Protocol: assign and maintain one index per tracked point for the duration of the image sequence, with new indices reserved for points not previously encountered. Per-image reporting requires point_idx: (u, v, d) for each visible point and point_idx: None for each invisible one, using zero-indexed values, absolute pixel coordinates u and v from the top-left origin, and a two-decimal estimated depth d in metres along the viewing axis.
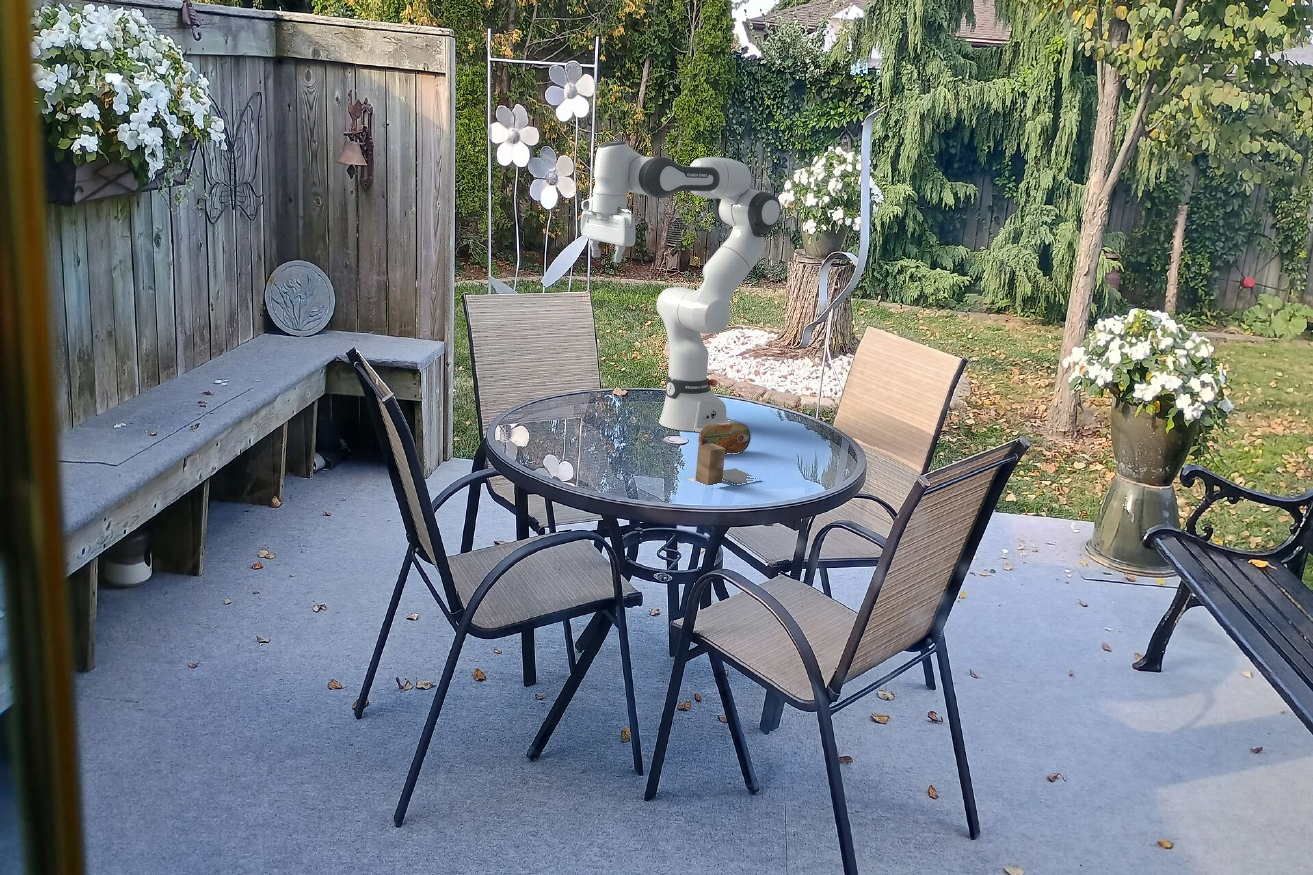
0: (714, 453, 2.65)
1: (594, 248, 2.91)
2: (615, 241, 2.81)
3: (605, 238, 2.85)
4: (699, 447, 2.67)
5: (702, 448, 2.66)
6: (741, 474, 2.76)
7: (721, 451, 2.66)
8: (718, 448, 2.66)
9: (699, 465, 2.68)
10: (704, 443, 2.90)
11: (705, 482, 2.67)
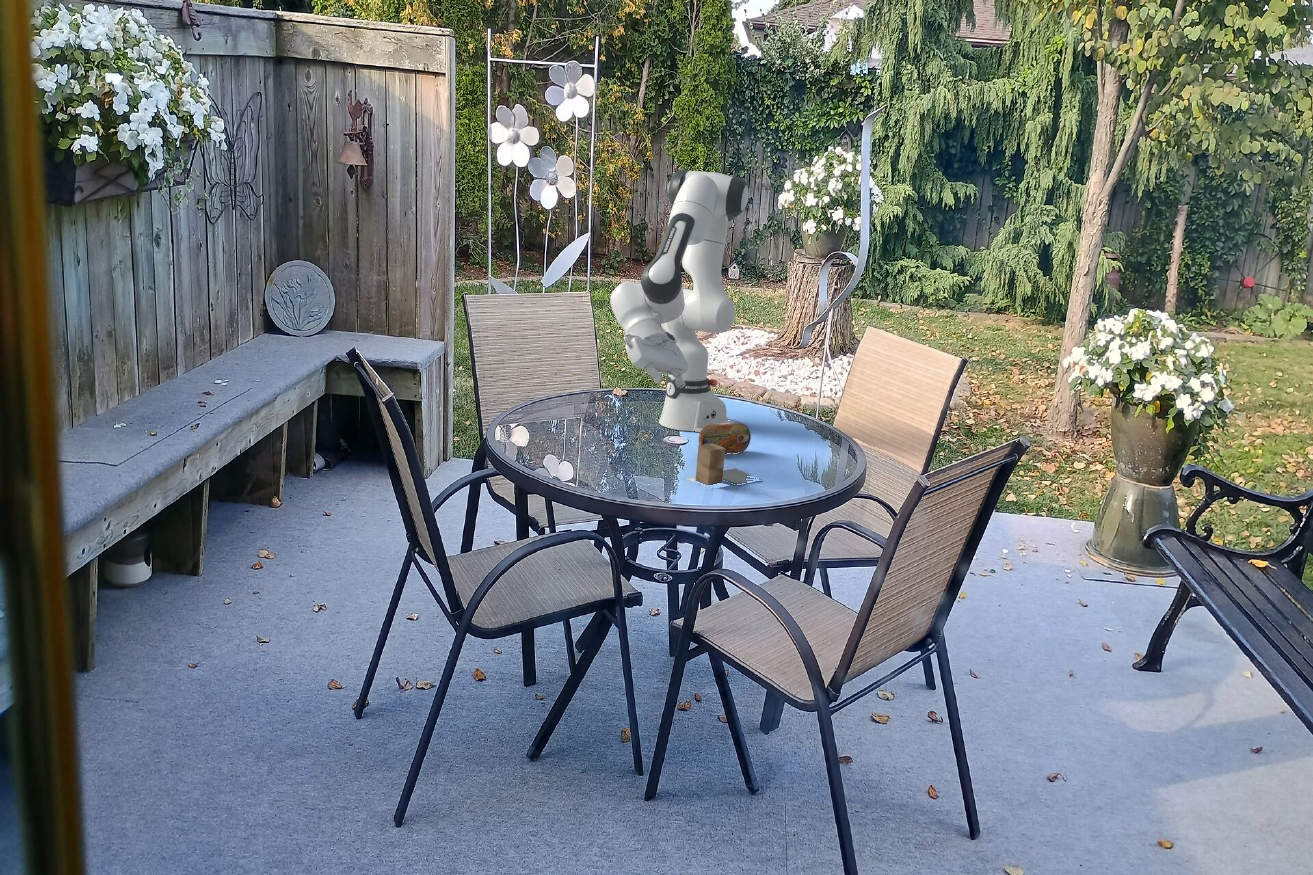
0: (714, 453, 2.65)
1: (677, 380, 2.75)
2: None
3: None
4: (699, 447, 2.67)
5: (702, 448, 2.66)
6: (741, 474, 2.76)
7: (721, 451, 2.66)
8: (718, 448, 2.66)
9: (699, 465, 2.68)
10: (704, 443, 2.90)
11: (705, 482, 2.67)
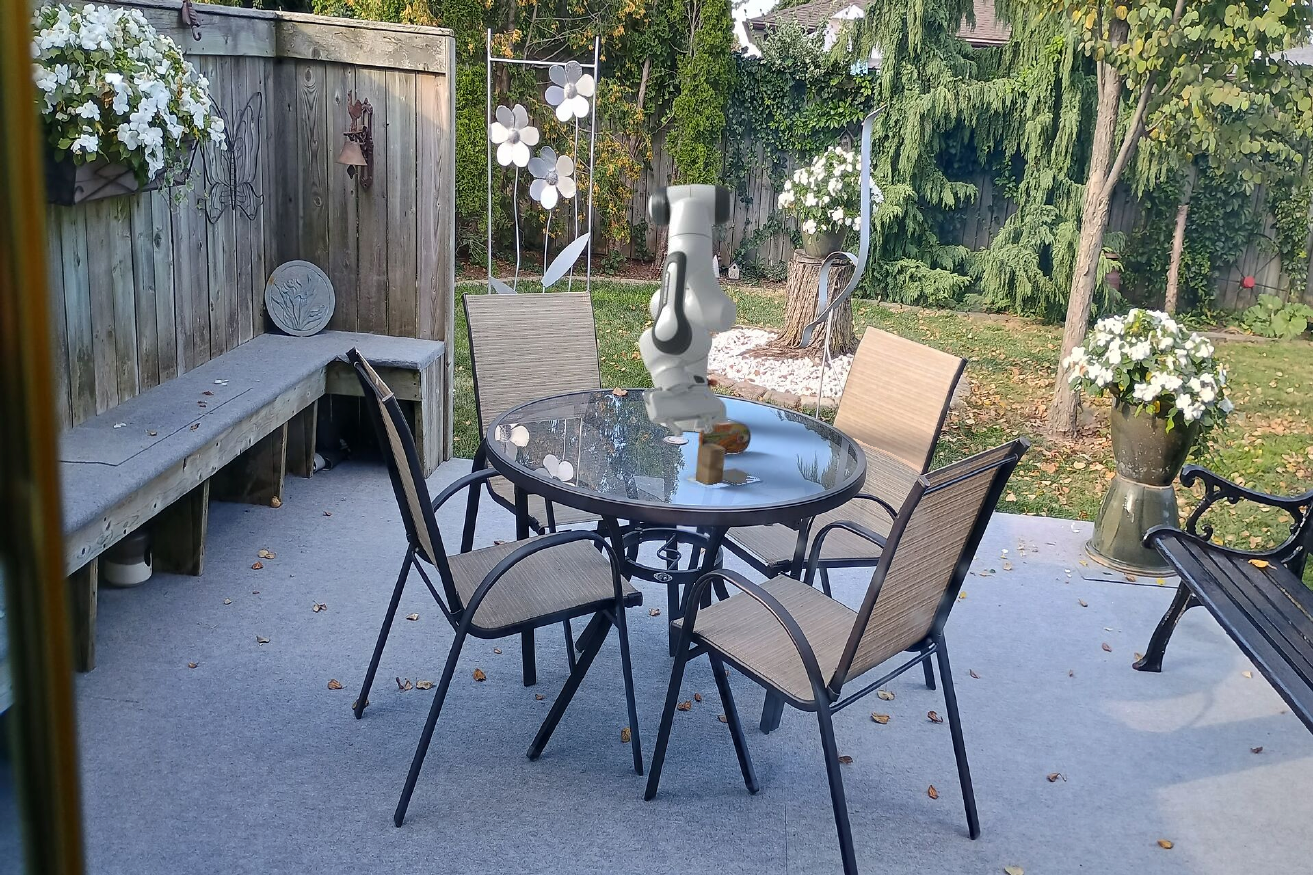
0: (714, 453, 2.65)
1: (706, 425, 2.75)
2: None
3: None
4: (699, 447, 2.67)
5: (702, 448, 2.66)
6: (741, 474, 2.76)
7: (721, 451, 2.66)
8: (718, 448, 2.66)
9: (699, 465, 2.68)
10: (704, 443, 2.90)
11: (705, 482, 2.67)
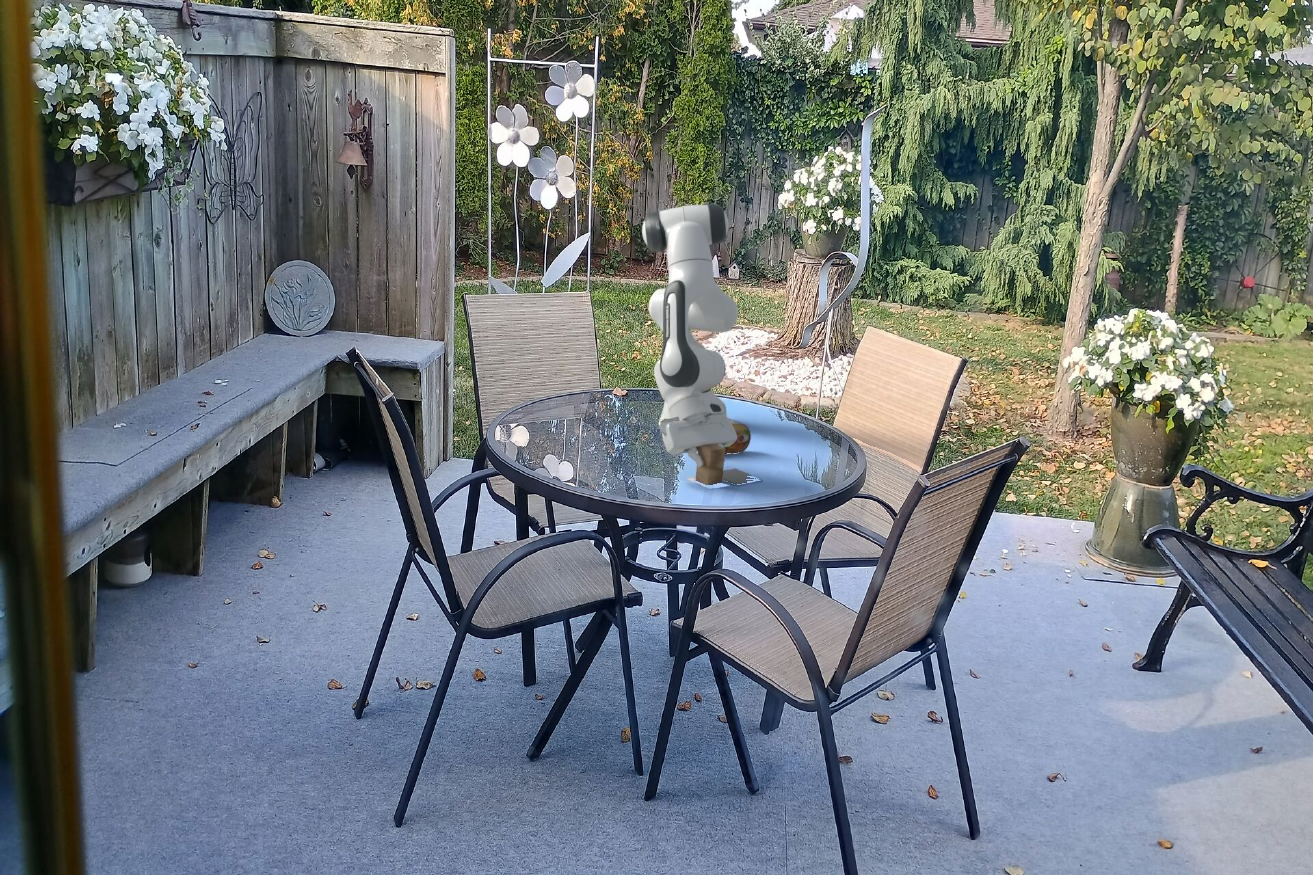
0: (714, 453, 2.65)
1: None
2: None
3: None
4: (699, 447, 2.67)
5: (702, 448, 2.66)
6: (741, 474, 2.76)
7: (721, 451, 2.66)
8: (718, 448, 2.66)
9: None
10: None
11: (705, 482, 2.67)
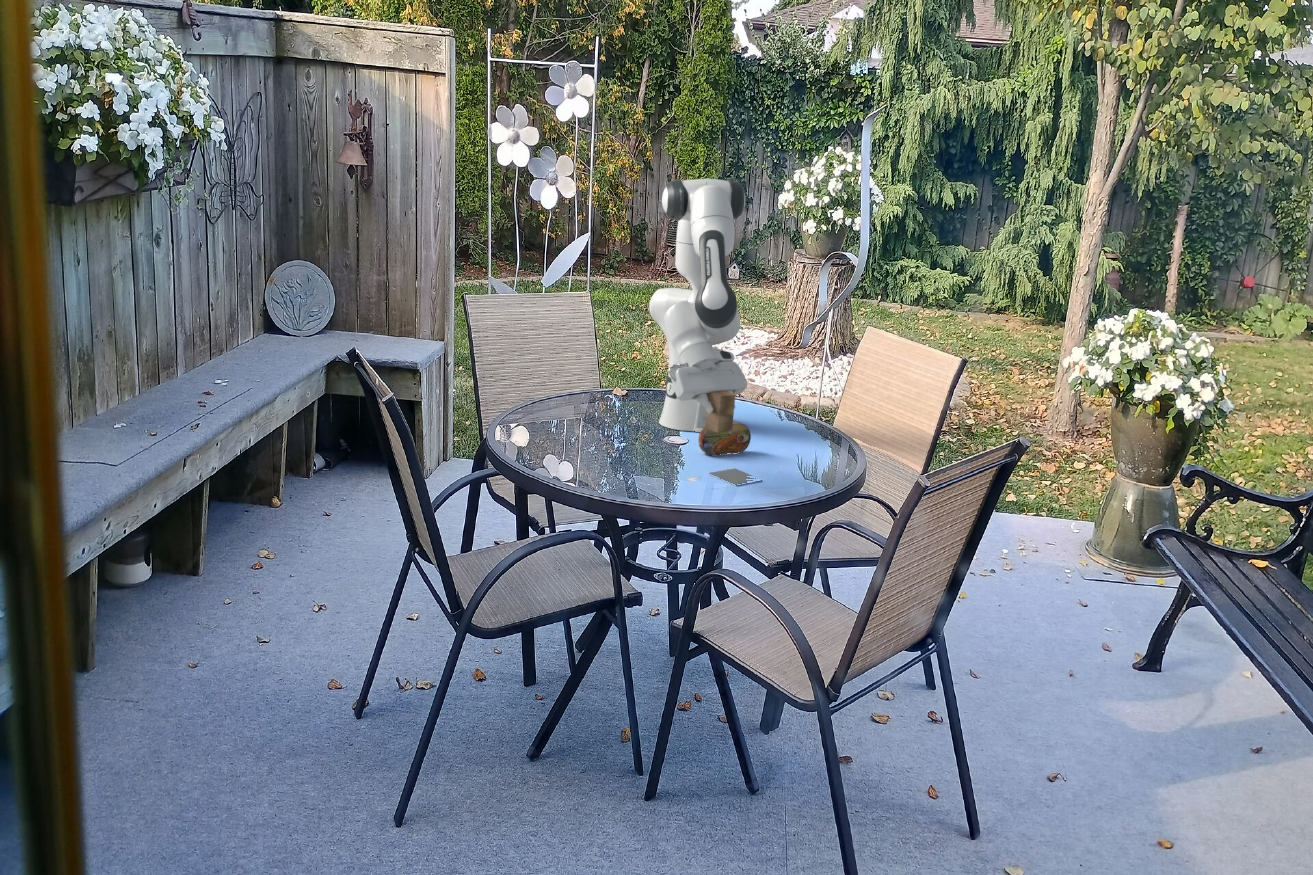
0: (724, 398, 2.62)
1: None
2: None
3: None
4: (709, 393, 2.65)
5: (712, 394, 2.64)
6: (741, 474, 2.76)
7: (731, 397, 2.64)
8: (728, 394, 2.64)
9: None
10: (704, 443, 2.90)
11: (715, 428, 2.64)
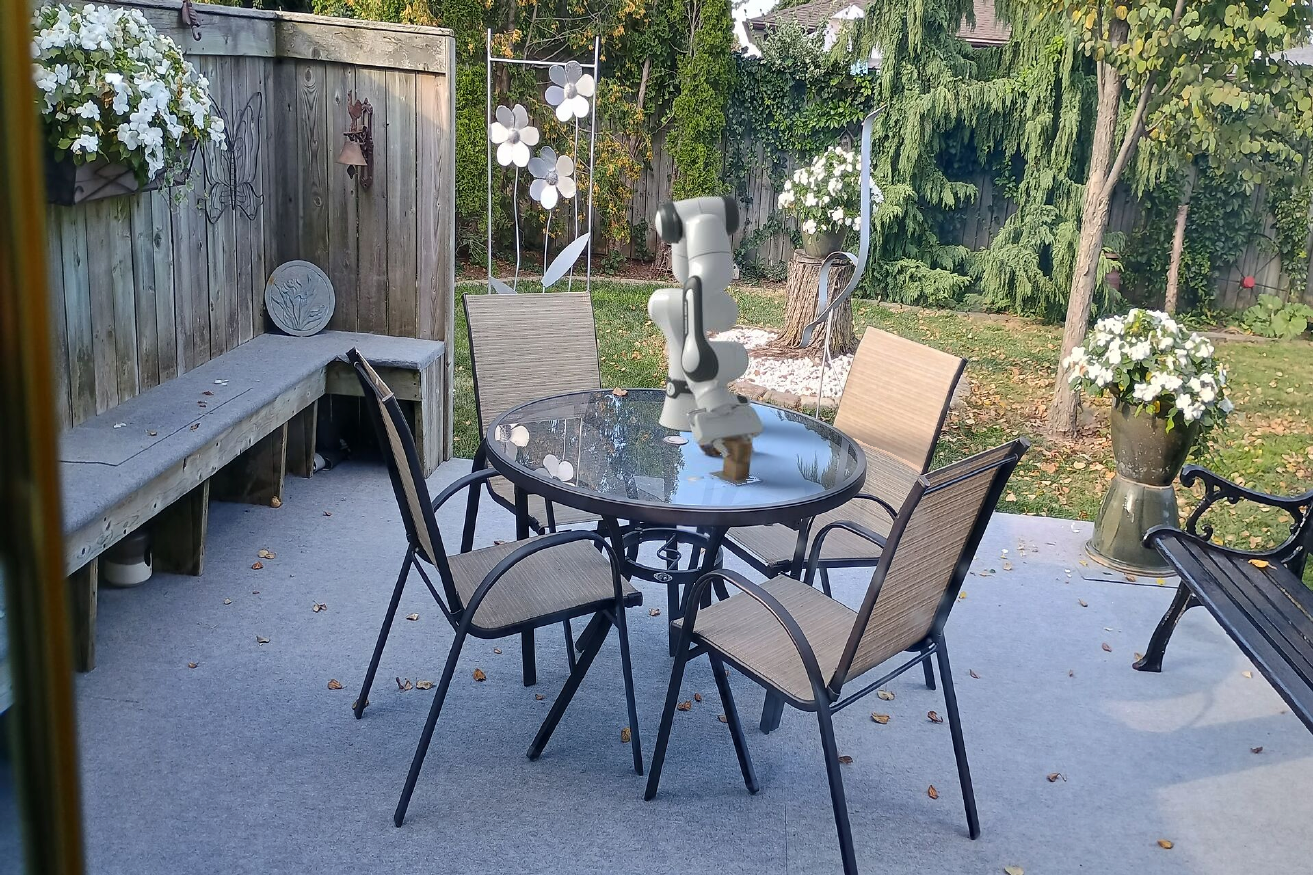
0: (741, 447, 2.70)
1: None
2: None
3: None
4: (726, 441, 2.72)
5: (729, 442, 2.71)
6: None
7: (748, 445, 2.71)
8: (745, 442, 2.71)
9: (726, 459, 2.73)
10: None
11: (732, 476, 2.72)
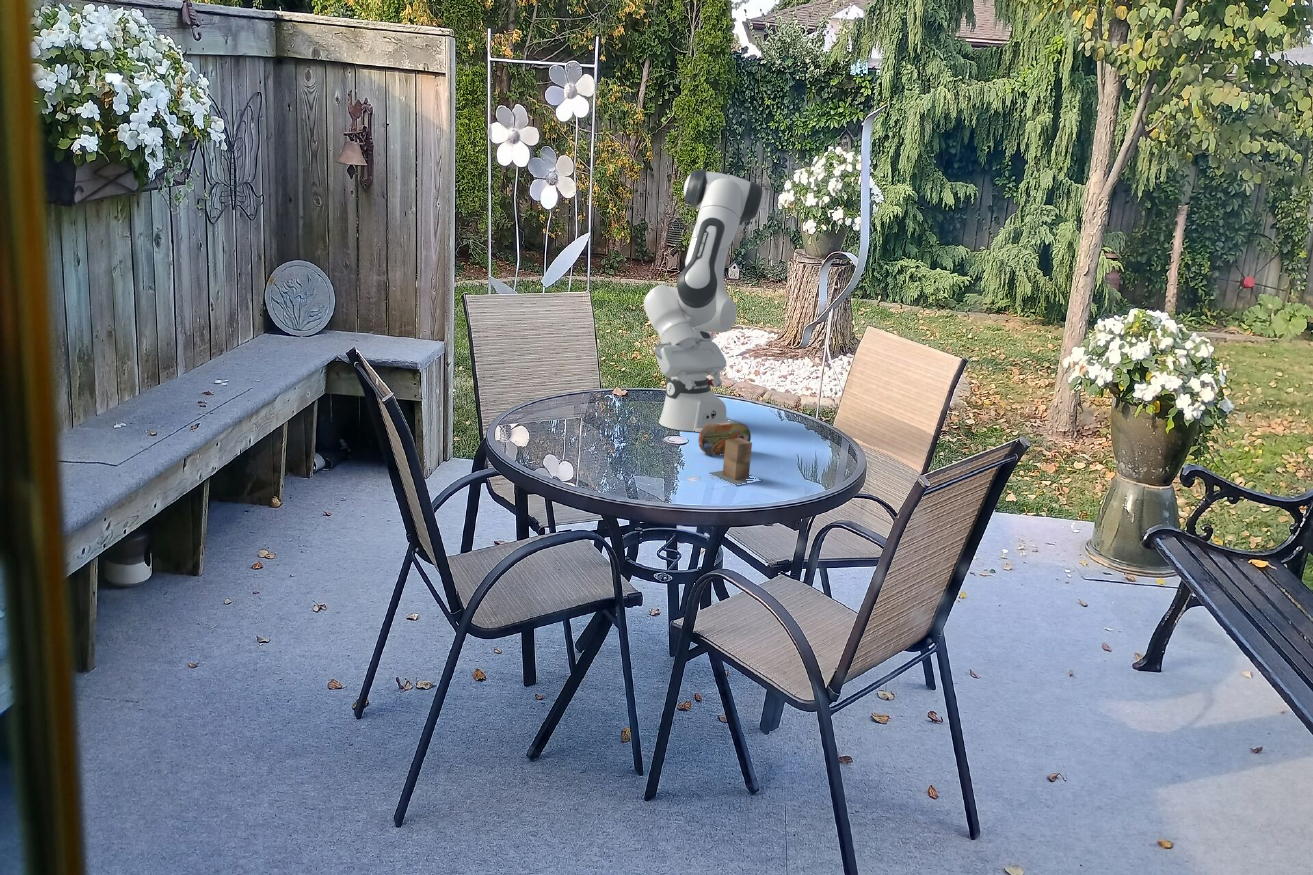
0: (741, 447, 2.70)
1: (714, 379, 2.80)
2: None
3: None
4: (726, 441, 2.72)
5: (729, 442, 2.71)
6: None
7: (748, 445, 2.71)
8: (745, 442, 2.71)
9: (726, 459, 2.73)
10: (704, 443, 2.90)
11: (732, 476, 2.72)
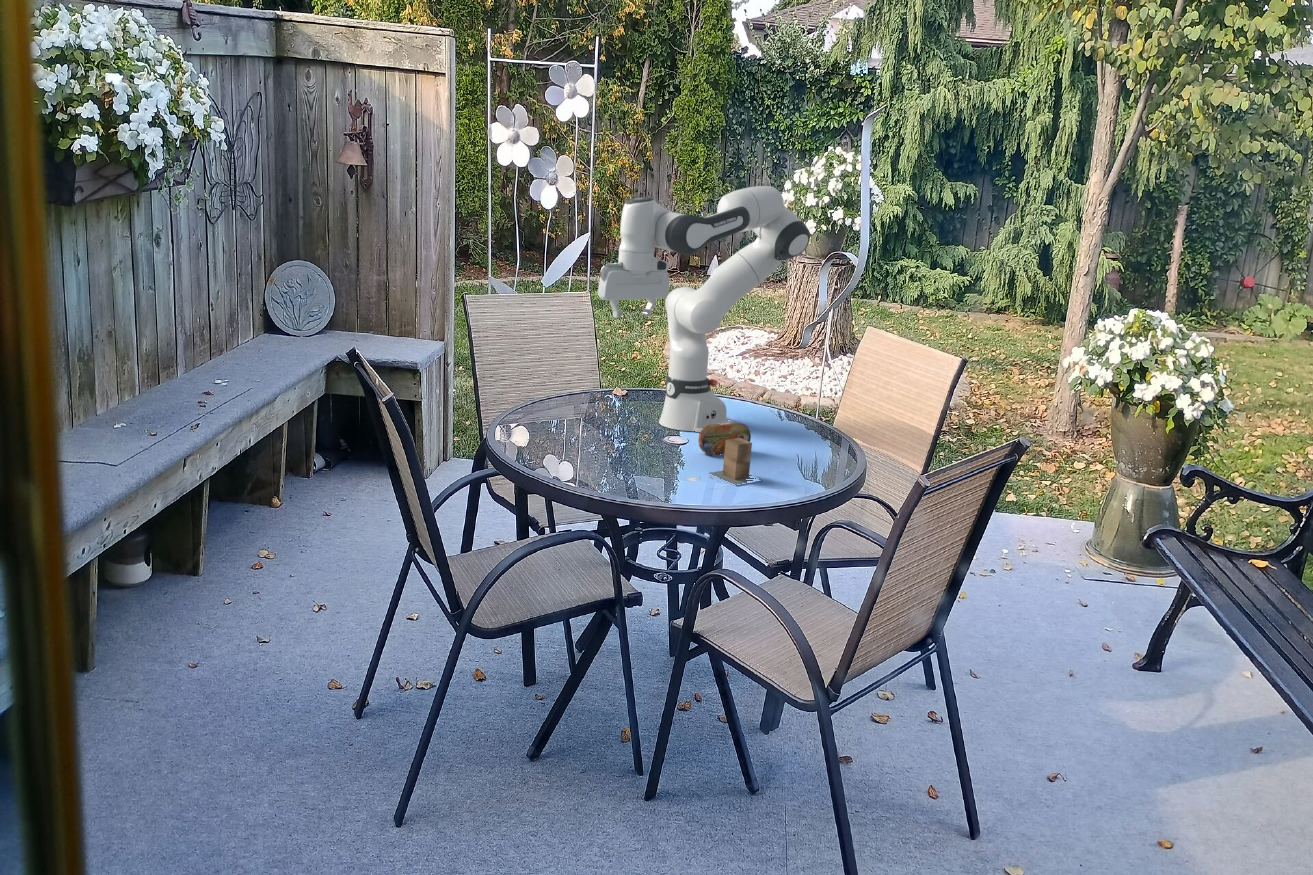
0: (741, 447, 2.70)
1: (647, 306, 2.86)
2: None
3: None
4: (726, 441, 2.72)
5: (729, 442, 2.71)
6: None
7: (748, 445, 2.71)
8: (745, 442, 2.71)
9: (726, 459, 2.73)
10: (704, 443, 2.90)
11: (732, 476, 2.72)
